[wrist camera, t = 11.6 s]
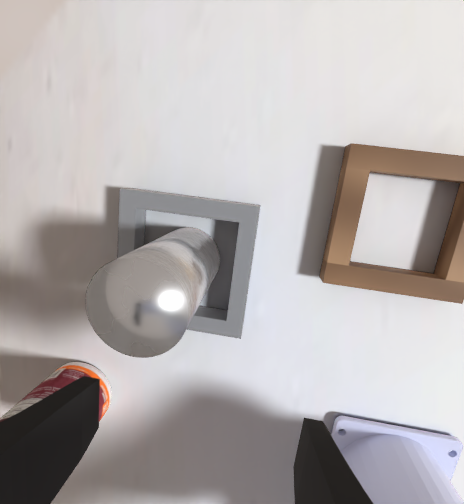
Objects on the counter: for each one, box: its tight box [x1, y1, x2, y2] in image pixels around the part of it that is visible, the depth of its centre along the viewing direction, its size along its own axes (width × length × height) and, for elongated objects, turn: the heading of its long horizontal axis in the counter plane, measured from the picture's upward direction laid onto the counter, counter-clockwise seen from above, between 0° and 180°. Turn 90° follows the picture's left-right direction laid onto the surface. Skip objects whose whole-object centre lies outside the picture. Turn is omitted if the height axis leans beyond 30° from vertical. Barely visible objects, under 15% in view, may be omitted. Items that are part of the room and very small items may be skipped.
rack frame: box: [117, 188, 260, 339], centre depth 18 cm, size 8×8×2 cm
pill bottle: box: [0, 362, 112, 422], centre depth 18 cm, size 5×5×8 cm
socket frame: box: [319, 144, 464, 304], centre depth 16 cm, size 8×8×1 cm
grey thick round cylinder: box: [85, 227, 220, 357], centre depth 15 cm, size 4×4×8 cm
